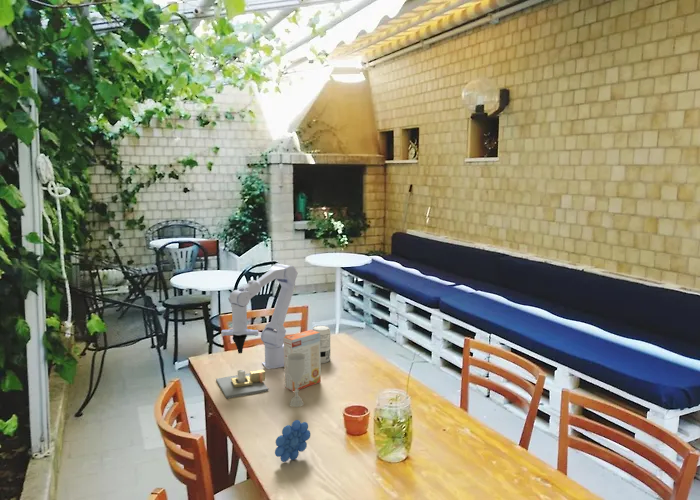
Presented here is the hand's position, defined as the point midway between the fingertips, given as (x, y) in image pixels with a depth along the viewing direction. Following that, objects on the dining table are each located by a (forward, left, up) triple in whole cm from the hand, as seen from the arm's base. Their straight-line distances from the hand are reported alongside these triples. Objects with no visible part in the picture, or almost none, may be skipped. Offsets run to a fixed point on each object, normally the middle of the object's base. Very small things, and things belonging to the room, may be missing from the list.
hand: (240, 352), depth 220 cm
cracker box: (-20, +18, -11) cm, 29 cm away
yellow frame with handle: (-1, +9, -9) cm, 13 cm away
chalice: (-12, +33, -11) cm, 37 cm away
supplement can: (-37, -4, -11) cm, 39 cm away
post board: (+2, +9, -10) cm, 14 cm away
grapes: (+2, +67, -11) cm, 68 cm away
